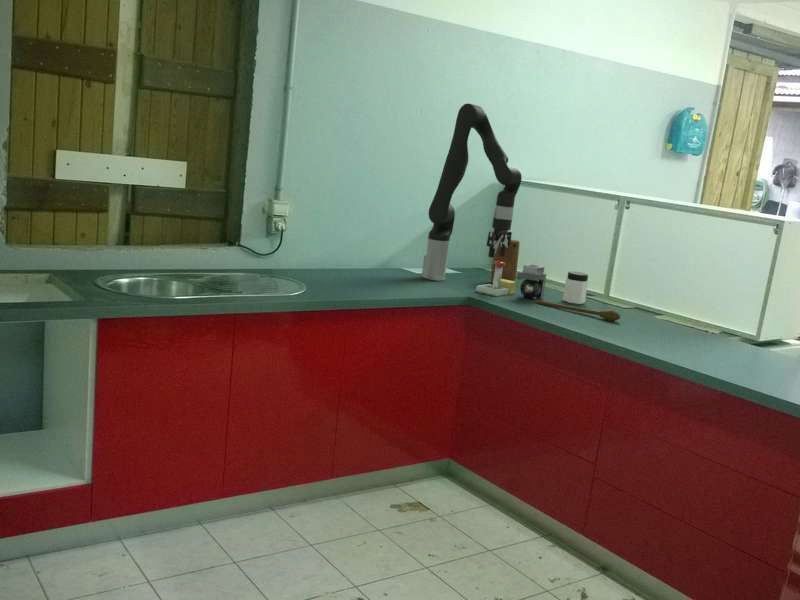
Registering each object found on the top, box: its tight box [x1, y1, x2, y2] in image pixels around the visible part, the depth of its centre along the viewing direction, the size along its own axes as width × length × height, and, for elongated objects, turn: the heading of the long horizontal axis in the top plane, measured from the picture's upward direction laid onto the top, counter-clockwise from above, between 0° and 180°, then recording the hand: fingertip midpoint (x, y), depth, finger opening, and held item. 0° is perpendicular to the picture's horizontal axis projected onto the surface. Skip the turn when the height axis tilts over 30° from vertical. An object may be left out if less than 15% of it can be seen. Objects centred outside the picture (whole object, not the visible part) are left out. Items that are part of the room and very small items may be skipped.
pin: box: [492, 261, 505, 290], centre depth 329 cm, size 4×4×12 cm
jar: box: [562, 271, 589, 305], centre depth 329 cm, size 9×8×12 cm
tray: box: [475, 283, 509, 297], centre depth 328 cm, size 10×10×2 cm
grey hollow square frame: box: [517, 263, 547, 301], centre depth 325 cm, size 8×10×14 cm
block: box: [490, 239, 521, 284], centre depth 351 cm, size 11×8×20 cm
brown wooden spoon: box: [534, 299, 621, 322], centre depth 307 cm, size 5×35×5 cm
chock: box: [500, 279, 517, 295], centre depth 334 cm, size 7×5×5 cm
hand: (496, 256), depth 325 cm, fingers open, 8 cm apart
